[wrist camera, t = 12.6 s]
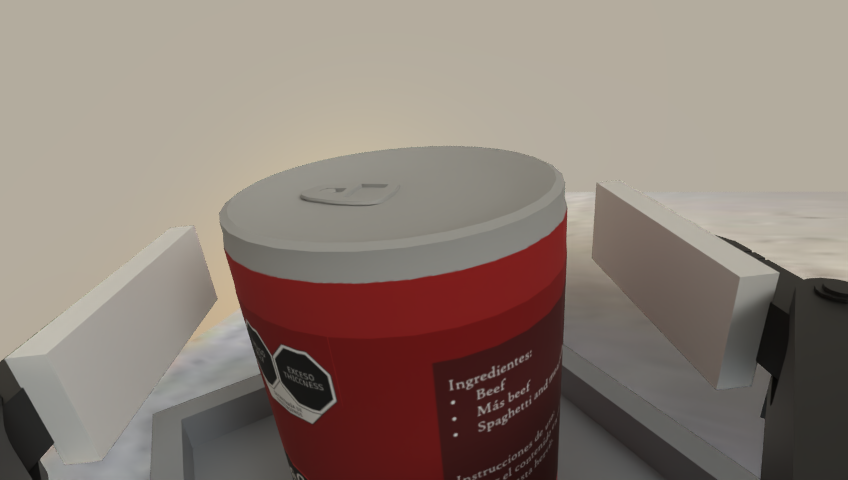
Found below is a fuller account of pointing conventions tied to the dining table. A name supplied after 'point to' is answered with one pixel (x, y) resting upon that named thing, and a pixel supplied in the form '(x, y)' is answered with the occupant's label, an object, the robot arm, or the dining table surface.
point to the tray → (577, 454)
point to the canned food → (407, 311)
